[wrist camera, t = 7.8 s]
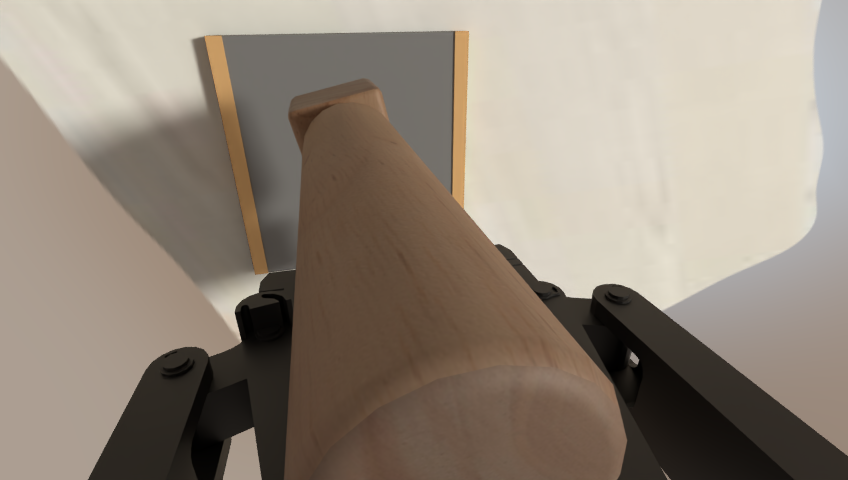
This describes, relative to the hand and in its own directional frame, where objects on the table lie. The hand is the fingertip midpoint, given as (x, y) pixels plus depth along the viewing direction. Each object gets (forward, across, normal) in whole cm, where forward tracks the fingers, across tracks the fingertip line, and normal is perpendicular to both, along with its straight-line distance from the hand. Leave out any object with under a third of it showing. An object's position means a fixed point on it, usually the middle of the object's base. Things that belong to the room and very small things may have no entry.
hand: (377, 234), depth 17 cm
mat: (+11, 0, 0) cm, 11 cm away
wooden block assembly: (+5, 0, 0) cm, 5 cm away
